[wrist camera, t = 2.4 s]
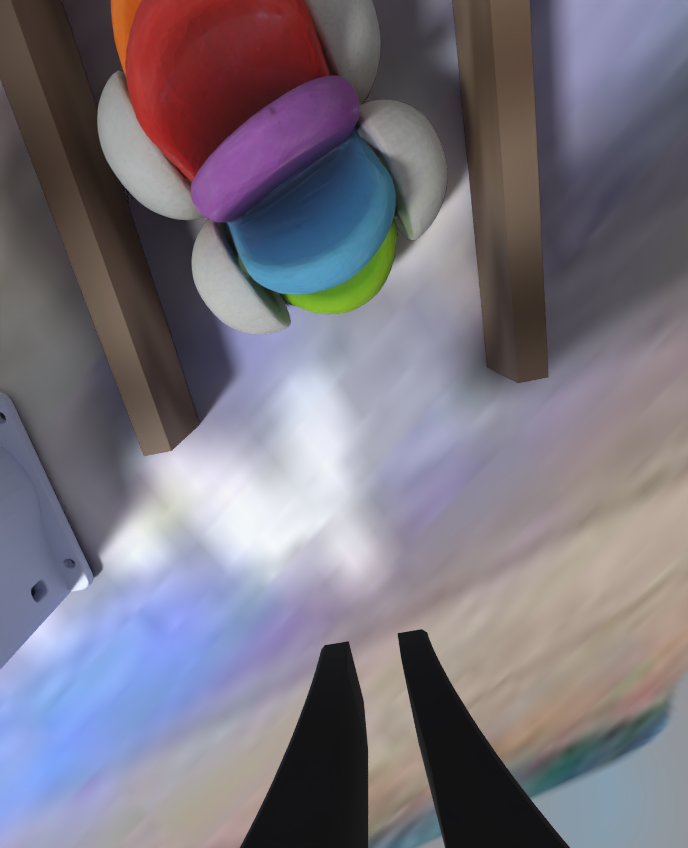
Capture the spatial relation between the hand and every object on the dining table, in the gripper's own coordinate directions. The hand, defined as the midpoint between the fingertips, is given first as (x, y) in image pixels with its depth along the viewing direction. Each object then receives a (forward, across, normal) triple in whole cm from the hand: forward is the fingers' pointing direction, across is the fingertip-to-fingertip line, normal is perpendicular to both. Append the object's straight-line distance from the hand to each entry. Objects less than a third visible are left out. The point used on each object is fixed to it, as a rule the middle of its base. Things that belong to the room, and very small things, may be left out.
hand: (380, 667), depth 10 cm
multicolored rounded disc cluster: (+9, 0, -13) cm, 16 cm away
